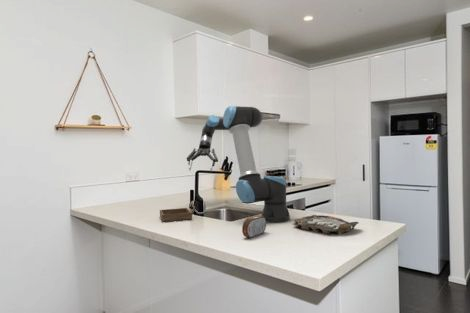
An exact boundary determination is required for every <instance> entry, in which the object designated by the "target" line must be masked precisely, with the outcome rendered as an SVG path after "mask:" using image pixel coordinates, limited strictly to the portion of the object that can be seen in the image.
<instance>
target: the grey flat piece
mask: <svg viewBox="0 0 470 313" xmlns="http://www.w3.org/2000/svg"><path fill="white" fill-rule="evenodd" d="M292 221H294V223H292V225H294V226H295V227H297V228H298V227H300V229H302V230H304V229H308V230H307V231H309V230H312V231H313V232H315V231H317V232H319V231H318V230H322V233H323V234H325V233H327V235H328V234H331V233H330V232H336V233H335V234H337V235H341V233H342V234H344V232H346V233H348V232H349V231H350V230H354V229H355V227H356V226H357V225H358V224H360V222H359V221H352V222H349V221H348V220H347V221H346V220H344V219H342V218H339V217H335V216H330V215H317V214H312V215H308V216H303V217H300V218H298V217H297V218H294V219H293V220H292ZM310 228H312V229H310Z"/></svg>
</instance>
